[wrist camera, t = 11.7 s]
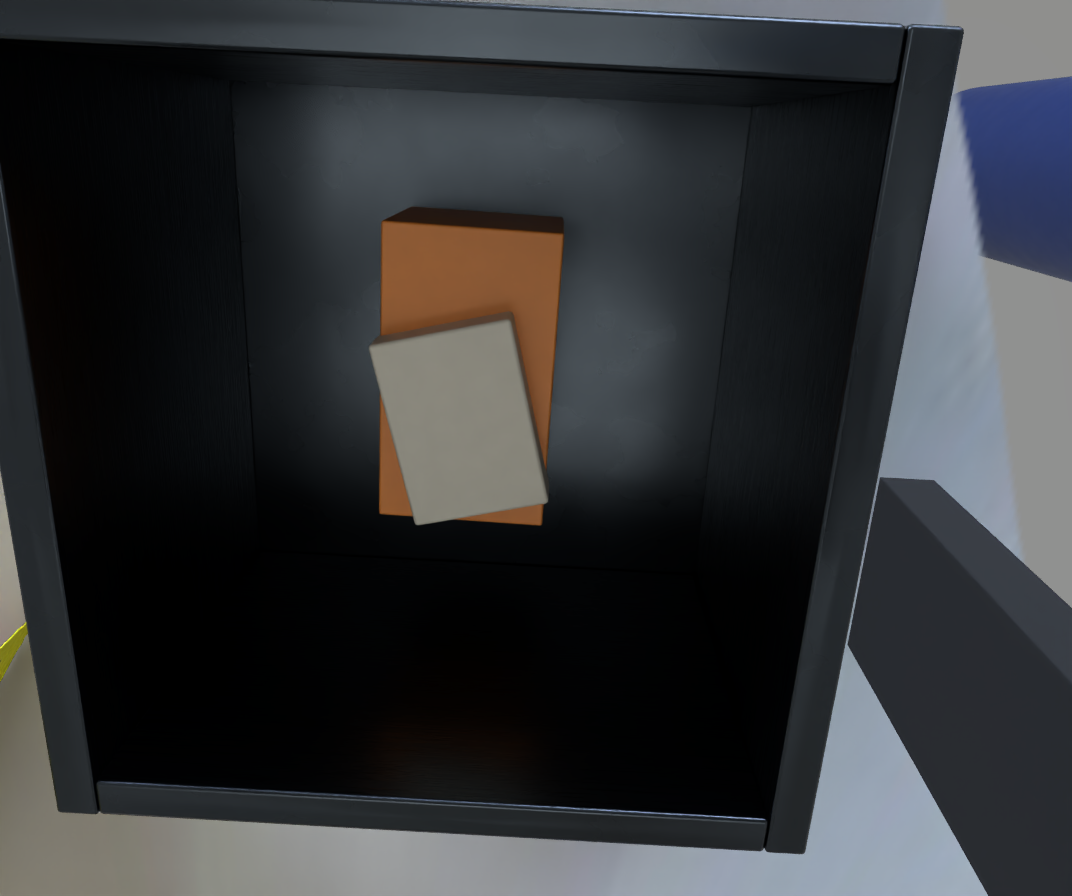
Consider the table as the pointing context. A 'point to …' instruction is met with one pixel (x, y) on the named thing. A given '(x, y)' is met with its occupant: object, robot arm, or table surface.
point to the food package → (11, 648)
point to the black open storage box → (354, 406)
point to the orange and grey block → (466, 363)
